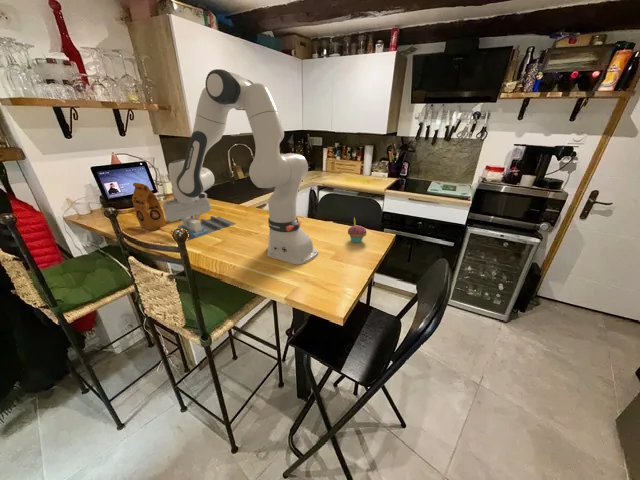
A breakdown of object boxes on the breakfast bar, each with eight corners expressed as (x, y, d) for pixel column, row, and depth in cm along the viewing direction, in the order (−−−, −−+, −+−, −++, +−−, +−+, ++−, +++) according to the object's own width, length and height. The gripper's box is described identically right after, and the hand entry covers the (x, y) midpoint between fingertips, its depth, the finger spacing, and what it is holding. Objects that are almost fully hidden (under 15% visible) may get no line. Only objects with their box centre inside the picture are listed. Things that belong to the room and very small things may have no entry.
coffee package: (149, 233, 125) (135, 188, 115) (137, 227, 131) (123, 183, 121) (170, 226, 132) (159, 183, 122) (158, 221, 138) (146, 180, 129)
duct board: (236, 225, 135) (235, 219, 133) (187, 242, 116) (186, 236, 115) (219, 218, 144) (218, 212, 142) (170, 233, 125) (169, 226, 124)
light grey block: (202, 231, 123) (200, 221, 120) (196, 233, 121) (194, 223, 118) (189, 225, 129) (187, 215, 127) (183, 226, 127) (181, 217, 125)
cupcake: (351, 245, 116) (353, 220, 111) (344, 237, 124) (346, 213, 118) (368, 243, 118) (371, 219, 113) (361, 235, 126) (363, 212, 121)
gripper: (164, 203, 109) (172, 233, 115) (209, 193, 123) (214, 220, 129) (158, 200, 112) (166, 229, 118) (202, 190, 127) (207, 217, 133)
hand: (191, 224), depth 124 cm, fingers closed on light grey block, 3 cm apart
